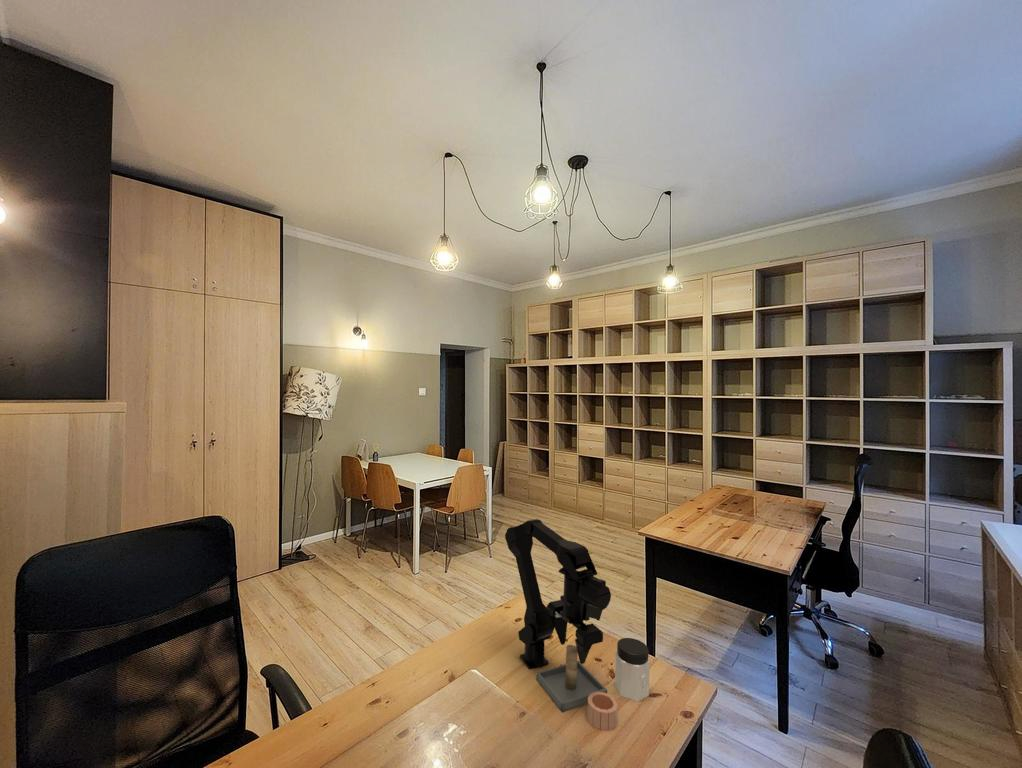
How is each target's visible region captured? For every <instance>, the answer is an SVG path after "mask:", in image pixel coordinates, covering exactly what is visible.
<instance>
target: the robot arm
mask: <svg viewBox="0 0 1022 768" xmlns="http://www.w3.org/2000/svg"><path fill="white" fill-rule="evenodd" d="M534 538H535V540H537V541H538V542H539V543H541V544H542V545H543V546H544V547H546V548H547V549H549V551H551V552H553V553H554V555H555V556H556V559H557V562H558V563H559V564H560V565H561V566H562V568H559V569H558V573H559V574H562V575H563V594H562V595H560V596H559V597H560V599H558V600H554V601H553V600H552V601H550V602H548V604H547V605H545V604H544V602H543V599H542V595H541V592H540V587H539V582H538V578H537V573H536V570H535V566H534V561H533V557H532V550H533V545H534V540H533V539H534ZM504 539H505V543H506V544H507V547H508V548H507V549H508V550H509V551H510V553H512V555H513V556H514V557H515V560H516V565H517V570H518V575H519V579H520V583H521V588H522V592H523V596H524V597H523V598H524V601H525V605H526V606H525V607H526V608H525V612H524V616H523V623H524V627H522V628H521V629H520V630H518V633H517V634H518V640H519V641H520V642H521V643H523V644H524V653H521V654H520V655H519V657H520V659H521V660H522V661H523V663H524V664H525V665H526V667H528V669H530V670H531V669H535V668H539V667H542V666H546V665H548V664H549V660H548V659H547V658H546V657H545V646H546V645H545V641H546V640H549V639H551V637H552V634H553V633H554V630H555V632H556V635H557V637H558V640H559V643H560V645H562V646H563V645H566V641H567V640H566V639H567V629H568V624H570V625H572V626H574V627H575V628H576V630H575V634H574V635H575V638H576V639H574V641H575V646H576V647H577V652H578V653H577V657H578V661H579V662H580V663H581V664H582V665H583V664H585V662H586V660H587V657H588V655H589V652H590V650H591V648H592V647H593V645H595V644H600V643H603V641H604V631H602V629H600V628H599V627H598V626H596V625H595V624H593V623H589V624H586V623H584V621H585V622H587V621H590V619H594V620H596V621H600V620H601V617H602V613H603V611H604V610H605V609H607V608H608V606H609V604H610V603H611V599H612V593H611V589H610V587H608V586H607V585H606V584H607V582H606V580H604V579H602V578H598V577H596V576H597V575H598V572H597V569H596V566H595V564H594V561H593V559H592V557H591V555H590V553H589V550H588V548H587V547H586V546H585V545H582V544H580V543H578V542H575V541H571V540H568V539H566V538H564V537H563V536H561V535H560V534H558V533H557V532H556V531H554V530H553V529H551V528H550V527H548V526H547V525H546V524H545V523H543V522H542V520H541V519H538V518H535V519H529V520H526V521H525V522H523V523H521V524H519V525H516V526H510V527H508V528H507V529H506V532H505V533H504ZM583 568H586V569H583ZM580 569H582V570H580ZM579 570H580V571H579Z"/></svg>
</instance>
